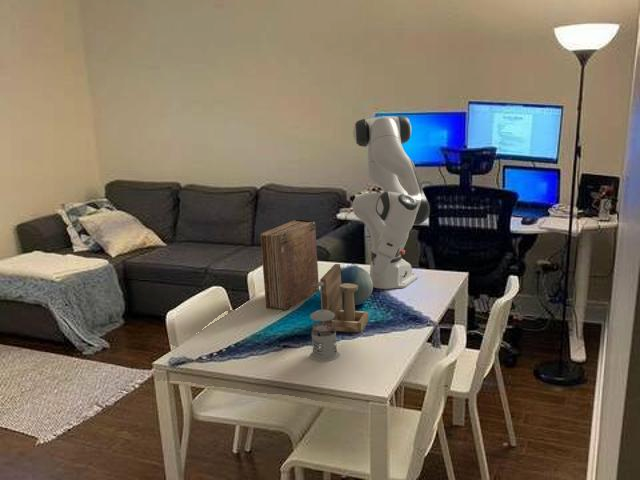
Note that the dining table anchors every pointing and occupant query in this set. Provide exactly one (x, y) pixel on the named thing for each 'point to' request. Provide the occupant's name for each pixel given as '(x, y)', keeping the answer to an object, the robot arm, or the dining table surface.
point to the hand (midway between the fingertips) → (379, 272)
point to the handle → (349, 300)
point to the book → (289, 264)
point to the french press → (323, 336)
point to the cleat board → (339, 303)
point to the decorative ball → (357, 283)
